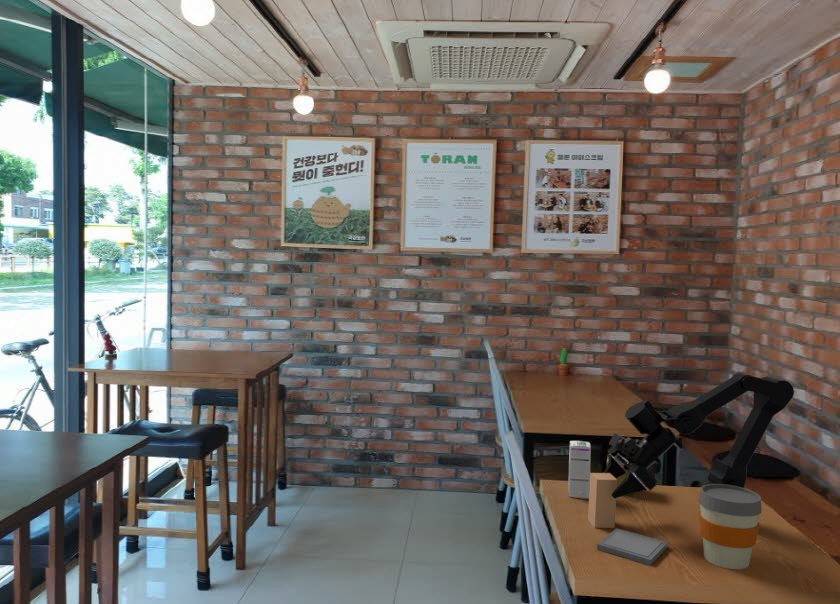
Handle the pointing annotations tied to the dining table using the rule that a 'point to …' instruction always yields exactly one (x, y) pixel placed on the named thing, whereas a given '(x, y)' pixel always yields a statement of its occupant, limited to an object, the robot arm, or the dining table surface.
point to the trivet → (633, 546)
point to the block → (602, 500)
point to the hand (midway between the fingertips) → (606, 490)
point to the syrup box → (579, 469)
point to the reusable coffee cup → (729, 524)
